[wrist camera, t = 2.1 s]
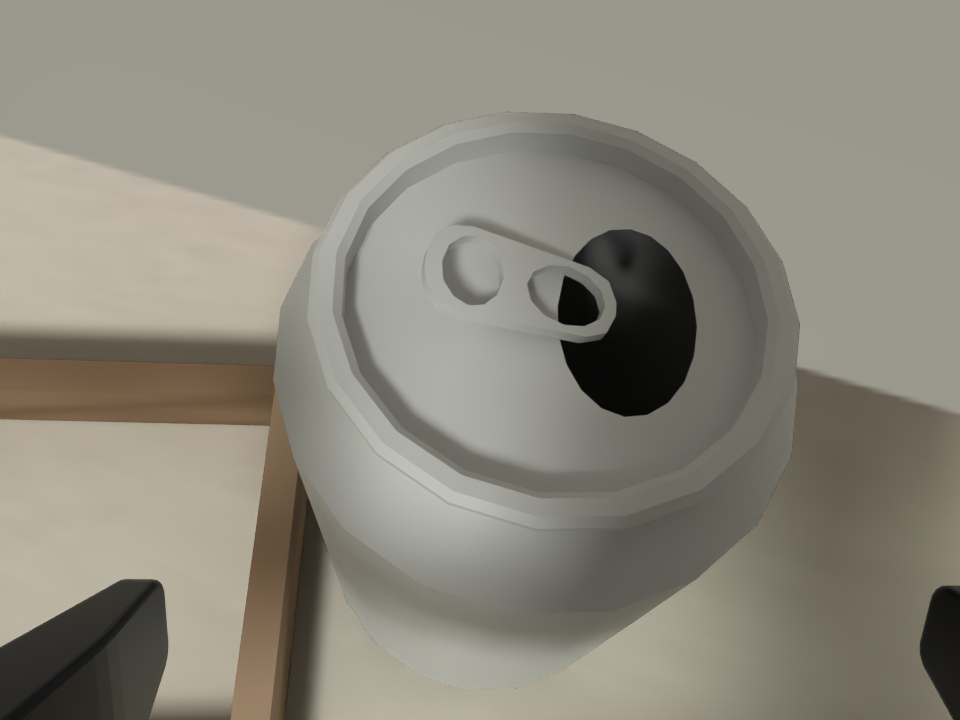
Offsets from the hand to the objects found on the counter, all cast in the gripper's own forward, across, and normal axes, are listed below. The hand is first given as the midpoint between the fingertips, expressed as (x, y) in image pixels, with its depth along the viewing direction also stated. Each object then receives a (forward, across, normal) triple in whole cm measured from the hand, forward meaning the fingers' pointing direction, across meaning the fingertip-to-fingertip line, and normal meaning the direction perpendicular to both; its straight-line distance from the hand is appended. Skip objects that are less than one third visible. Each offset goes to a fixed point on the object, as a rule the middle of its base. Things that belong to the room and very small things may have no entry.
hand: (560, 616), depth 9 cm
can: (+10, 0, +5) cm, 11 cm away
